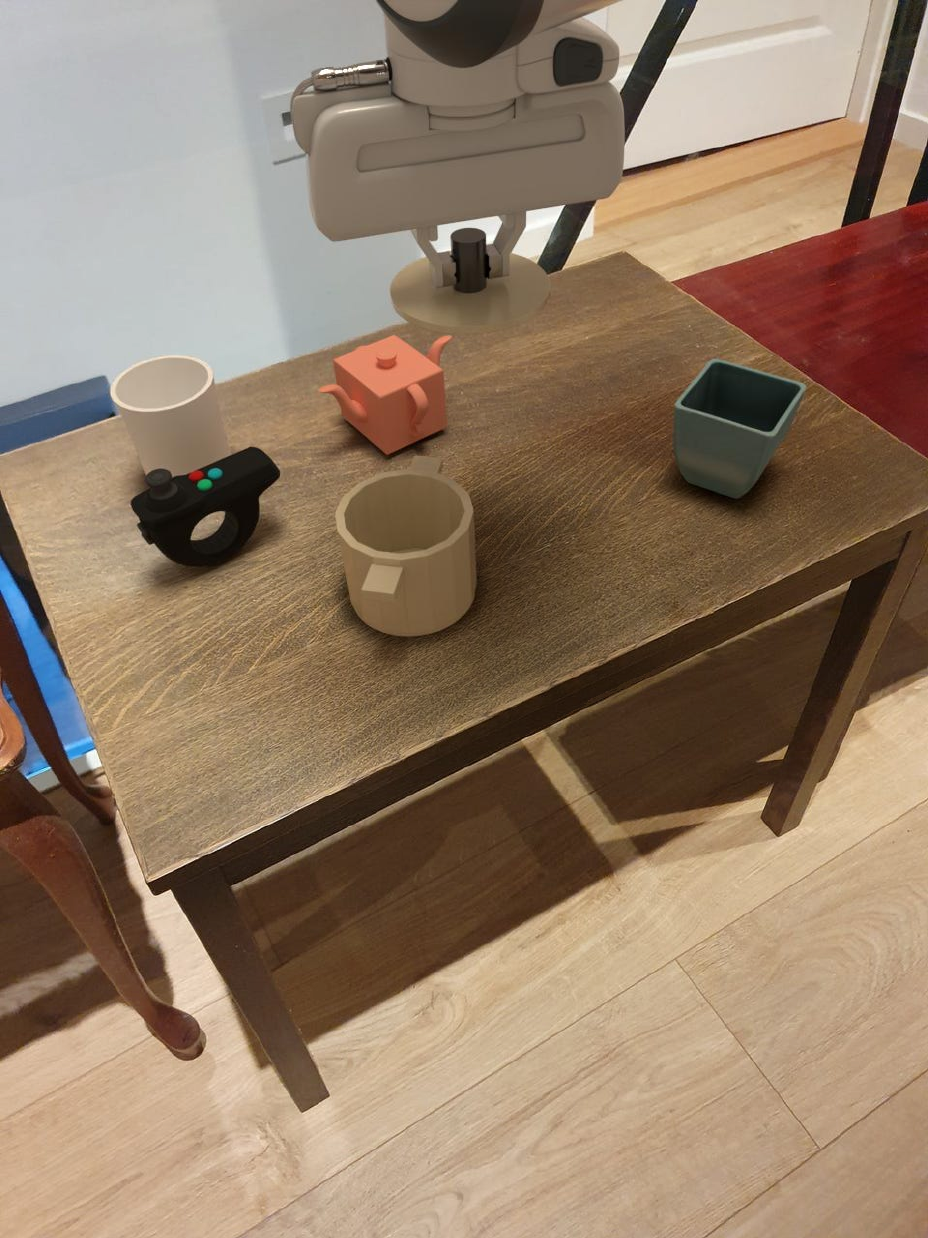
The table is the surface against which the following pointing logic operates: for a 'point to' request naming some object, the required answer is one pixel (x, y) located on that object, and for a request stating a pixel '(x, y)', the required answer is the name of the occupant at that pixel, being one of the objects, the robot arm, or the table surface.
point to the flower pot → (732, 425)
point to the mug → (172, 413)
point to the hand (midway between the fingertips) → (470, 278)
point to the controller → (205, 507)
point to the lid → (470, 291)
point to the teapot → (391, 391)
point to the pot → (408, 549)
